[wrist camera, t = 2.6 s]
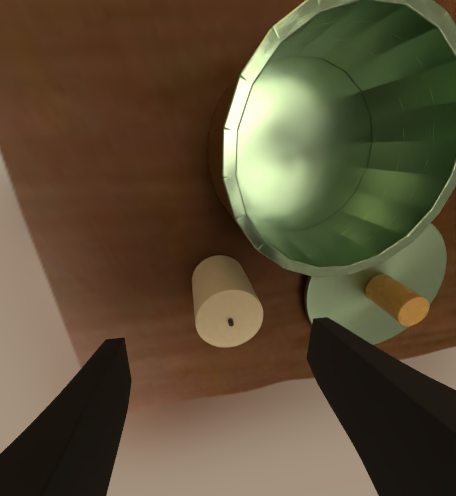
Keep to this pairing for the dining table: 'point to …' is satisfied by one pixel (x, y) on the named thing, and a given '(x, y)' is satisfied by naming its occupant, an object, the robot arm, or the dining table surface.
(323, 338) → the robot arm
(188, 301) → the dining table surface
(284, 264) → the tin
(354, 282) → the tin lid
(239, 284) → the candle
